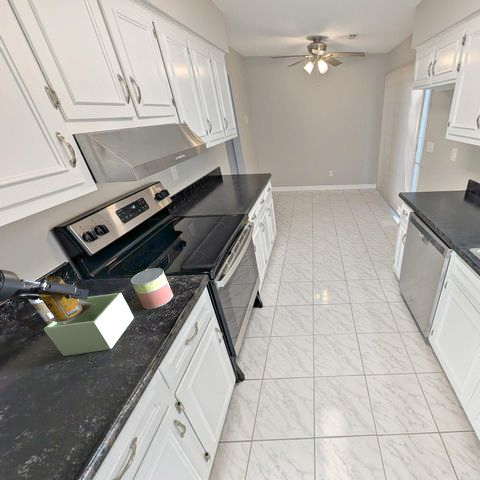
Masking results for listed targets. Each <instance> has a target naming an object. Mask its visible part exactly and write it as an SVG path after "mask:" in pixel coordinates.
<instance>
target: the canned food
mask: <svg viewBox="0 0 480 480" xmlns="http://www.w3.org/2000/svg"><path fill="white" fill-rule="evenodd" d="M130 283H131V285H132V286H133V288H134V291H135V293H136V295H137V297H138V299H139V301H140V303H141V306H142V308H144V309H147V310H152V309H153V310H154V309H157V308H159V307H162V306H164V305H166V304H168V302H170V301H172V298H174V297H173V296H174V293H173V291H172V289H171V286H170V283H169V281H168V279H167V276H166V274H165V271H164V269H163V268H161V267H154V268H153V267H152V268H148V269H144V270H142V271H140V272H137V274H135V275H133V277H131V279H130Z"/></svg>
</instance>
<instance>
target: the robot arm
mask: <svg viewBox="0 0 480 480" xmlns="http://www.w3.org/2000/svg"><path fill="white" fill-rule="evenodd" d="M78 286H79V285H76V284H68V283H66V284H63V283H56V282H50V281H47V280H44V279H40V281H33V280H30V279H20V278H19V276H18V274H16V273H15V272H13V271H11V270H6V269H1V268H0V303H3V302H5V301H7V300H13V301H21V302H22V301H23V302H27V301H29V299H30V300H38V299H39V300H42V299H41V298H40V296H39V295H56V296H66V299H71V298H77V299H88V297H89V292H90V290H89V289H84V288H78Z"/></svg>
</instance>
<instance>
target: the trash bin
mask: <svg viewBox="0 0 480 480" xmlns="http://www.w3.org/2000/svg"><path fill="white" fill-rule="evenodd" d="M77 300H78V302H80V301H84V302H87V303H92V304H96V305H94V306H93V307H91V308H90V309H88V310H87V311H85V312H83V313H82V314H81V315H79V316H78V317H76V318H74V319H73V320H71V321H70V322H68V323H66V324H62V323H58V322H54V321H52V322H51V323H50V324H47V325H46V326H45V327H44V328H43V331H44V332H45V334H46V335H47V336H48V337H49V339H50V340H51V342H52V343H53V344H54V346H55V347H56V348H57V349H58V351H59V352H60V353H61V354H62V357H63V356H64V357H66V356H67V357H68V356H74V355H80V354H88V353H93V352H100V351H107V350H112V349H113V348H114V346H115V344H116V343H117V342H118V340H119V339H120V338H121V337H122V335H123V333H124V332H125V331H126V330H127V329H128V327H129V325H130V324H131V323H132V322H133V320H134V318H135V317H134V315H133V313H132V311H131V309H130V307H129V305H128V303H127V301H126V300H125V298H124V296H123V293H122V292H117V293H116V292H115V293H109V294H107V293H106V294H100V295H93V296H88V299H77Z"/></svg>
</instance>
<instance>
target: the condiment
mask: <svg viewBox="0 0 480 480" xmlns="http://www.w3.org/2000/svg"><path fill="white" fill-rule="evenodd" d="M43 280H47V281H50V282H56V283H63V284H67V283H66V282H65V281H64V279H63V278H62V277H61V276H58V275H56V276H55V275H54V276H50V277H46V278H44V279H43ZM39 296H40V298H41V299H42V301H43V302H44V304H45V305H46V307H47V308H48V309H49V311H50V312H51V314H52V315H53V316H54V317H53V318H51V319H49V320H51V321H54V322H58V323H62V324H66V323H68V322H70V321H71V320H73V319H74V318H76V317H78V316H79V315H81V314H82V313H83V312H85V311H87V310H88V309H90V308H91V307H93V306H94V305H96V304H92V303H87V302H84V301H80V302H78V300H77V298H71V299H66V296H56V295H39Z"/></svg>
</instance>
